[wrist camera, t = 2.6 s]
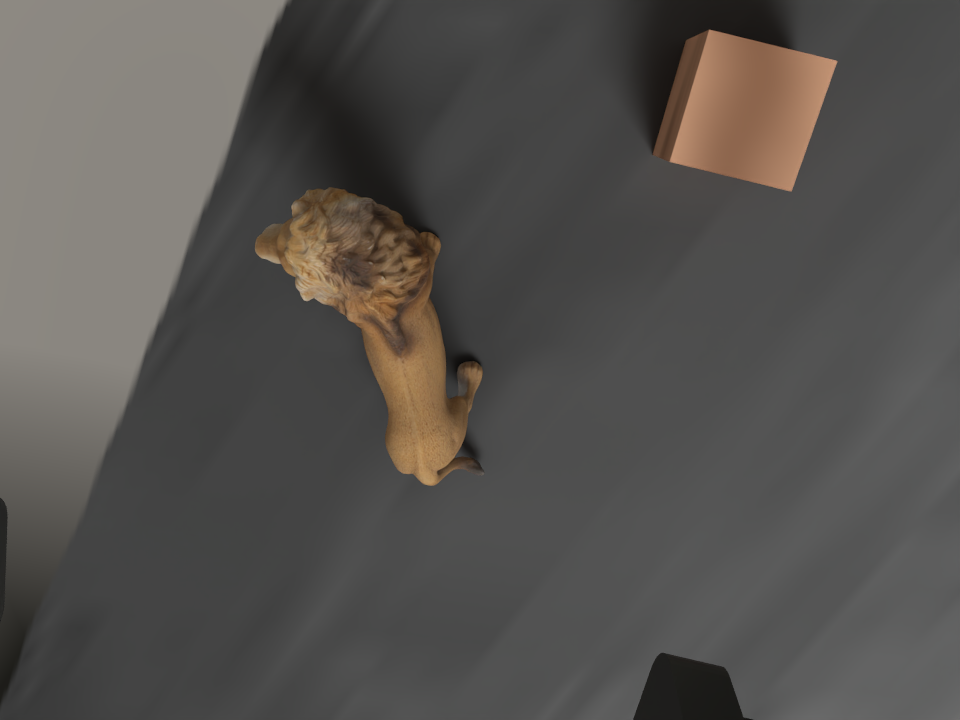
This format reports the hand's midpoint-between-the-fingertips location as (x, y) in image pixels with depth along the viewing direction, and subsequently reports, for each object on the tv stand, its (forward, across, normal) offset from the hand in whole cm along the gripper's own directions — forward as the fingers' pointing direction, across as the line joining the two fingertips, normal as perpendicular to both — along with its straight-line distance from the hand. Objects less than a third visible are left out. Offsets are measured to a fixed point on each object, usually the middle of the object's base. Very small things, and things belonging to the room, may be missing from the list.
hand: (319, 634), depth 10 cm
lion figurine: (+26, +2, +4) cm, 27 cm away
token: (+26, -8, -8) cm, 29 cm away
